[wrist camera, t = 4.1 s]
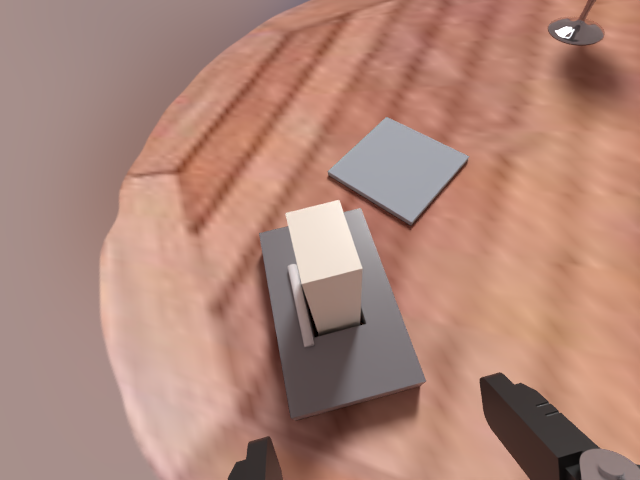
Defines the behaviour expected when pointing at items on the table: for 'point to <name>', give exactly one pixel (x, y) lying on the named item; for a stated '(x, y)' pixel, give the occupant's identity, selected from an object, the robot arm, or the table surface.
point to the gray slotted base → (338, 333)
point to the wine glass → (577, 28)
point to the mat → (398, 169)
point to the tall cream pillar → (327, 266)
